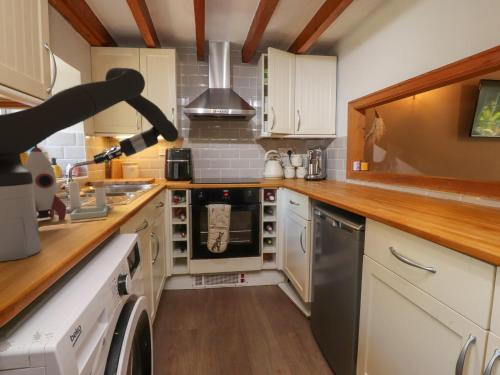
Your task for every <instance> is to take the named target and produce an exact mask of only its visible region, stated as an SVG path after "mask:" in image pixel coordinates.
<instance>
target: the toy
mask: <svg viewBox="0 0 500 375" xmlns="http://www.w3.org/2000/svg"><path fill="white" fill-rule="evenodd" d="M29 151H30V152H29V154H28V156H27V157H26V159H25V162H23V164H24V165H23V166H24V167H25V168H26V169H27V170H28V171H30V172H31V174H32V179H33V188H34V196H35V205H36V213H37V214H38V213H39V215H38V216H37V220H38V219H39V220H40V219H47V218H53V217H55V215H54V210H55V211H56V212H57V213H58V215H57V216H58V220H65V218H66V216H67V214H66V209H67V205H66V204H65V203H64V202H63V201H62V200H61V199H60V198H59V197H58V196H57V187H58V184H57V177H56V173H55V168H54V167H53V166H52V162H51V161H50V160H49V158H48V157H47V156H46V155H45V153H44V151H43V150H42V149H41V148H40V147H38V144H37V145H36V146H34V147H33V148H31V149H30V150H29ZM49 213H50V214H49Z"/></svg>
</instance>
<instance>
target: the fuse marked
mask: <svg viewBox="0 0 500 375" xmlns="http://www.w3.org/2000/svg"><path fill="white" fill-rule="evenodd" d="M93 187H94V194H95V206H96V207H104V206H107V200H106V199H107V198H106V187H105V180H104V179H103V180H101V179H99V180H93Z"/></svg>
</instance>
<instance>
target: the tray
mask: <svg viewBox="0 0 500 375" xmlns="http://www.w3.org/2000/svg"><path fill="white" fill-rule="evenodd" d="M108 212H109V210H108V208H107V205H106V206H104V207H93V206H91V207H85V208H82V207H81V208H80V209H75V210H74V211H73V212H72V213H71V214H69V216H70V220H80V219H91V218H102V217H106V216H107V214H108ZM100 221H107V218H104V219H92V220H83V221H72V222H70V224H71V225H72V224H81V223H91V222H100Z"/></svg>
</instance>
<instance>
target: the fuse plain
mask: <svg viewBox="0 0 500 375" xmlns="http://www.w3.org/2000/svg"><path fill="white" fill-rule="evenodd" d="M67 187H68V196H69V208H71V213H72V212H73V211H74V210H75V209H80V208H82V204H81V203H82V202H81V193H80V191H81V190H80V184H79V181H68V182H67Z"/></svg>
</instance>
